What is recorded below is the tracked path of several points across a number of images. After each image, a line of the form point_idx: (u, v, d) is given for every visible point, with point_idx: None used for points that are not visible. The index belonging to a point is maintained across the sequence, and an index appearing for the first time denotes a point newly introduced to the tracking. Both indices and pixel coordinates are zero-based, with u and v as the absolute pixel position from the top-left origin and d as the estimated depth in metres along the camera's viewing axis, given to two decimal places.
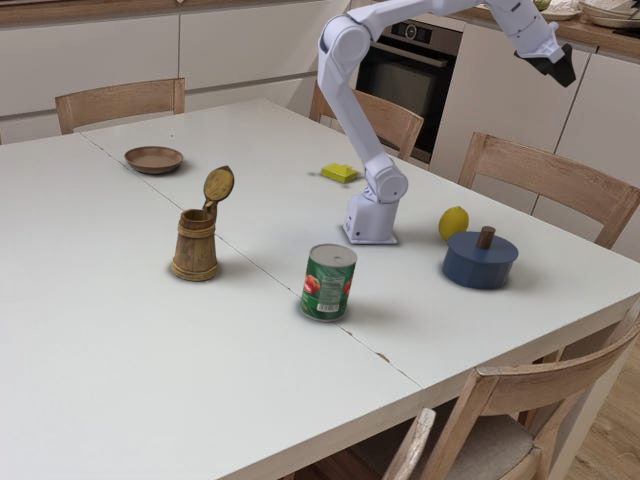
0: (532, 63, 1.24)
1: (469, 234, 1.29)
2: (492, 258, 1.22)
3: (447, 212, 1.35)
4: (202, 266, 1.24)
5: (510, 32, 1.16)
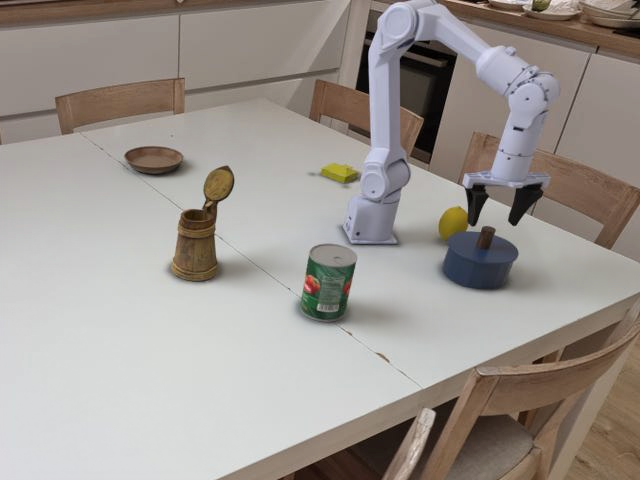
0: (514, 200, 1.22)
1: (469, 234, 1.29)
2: (492, 258, 1.22)
3: (447, 212, 1.35)
4: (202, 266, 1.24)
5: (500, 144, 1.14)
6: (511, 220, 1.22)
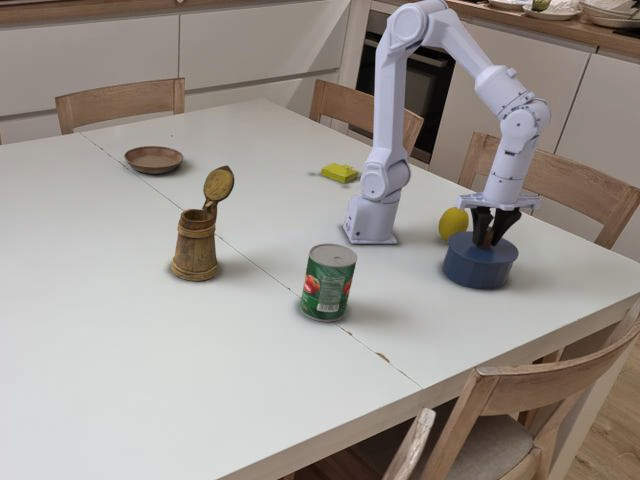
0: (494, 221, 1.24)
1: (469, 234, 1.29)
2: (492, 258, 1.22)
3: (447, 212, 1.35)
4: (202, 266, 1.24)
5: (492, 167, 1.17)
6: None
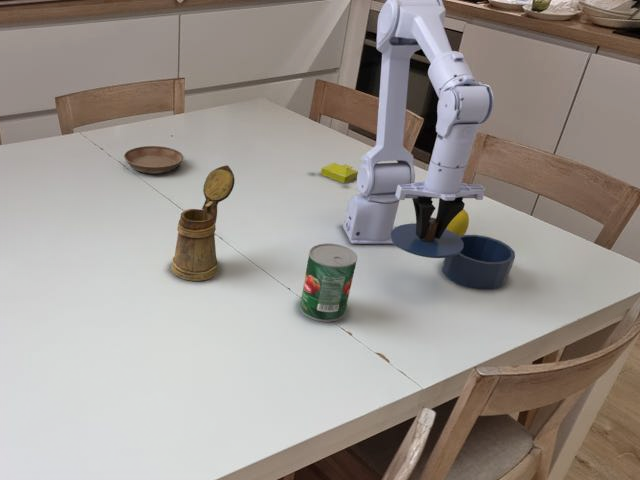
0: (437, 212, 1.18)
1: (414, 226, 1.24)
2: (435, 251, 1.16)
3: None
4: (202, 266, 1.24)
5: None
6: None
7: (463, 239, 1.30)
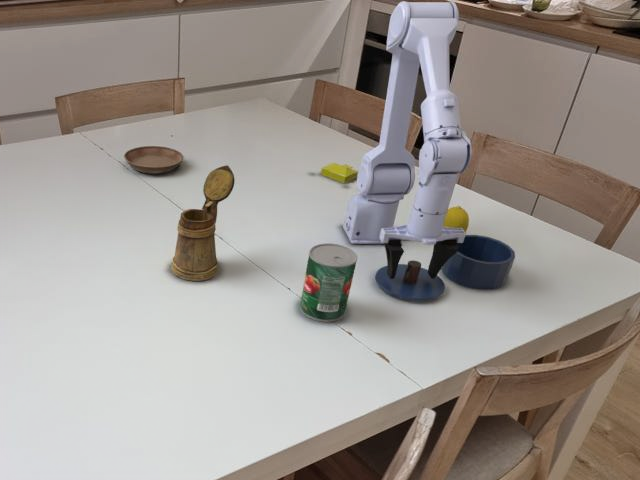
0: None
1: (398, 267, 1.28)
2: (417, 293, 1.21)
3: (447, 212, 1.35)
4: (202, 266, 1.24)
5: None
6: (430, 272, 1.24)
7: None
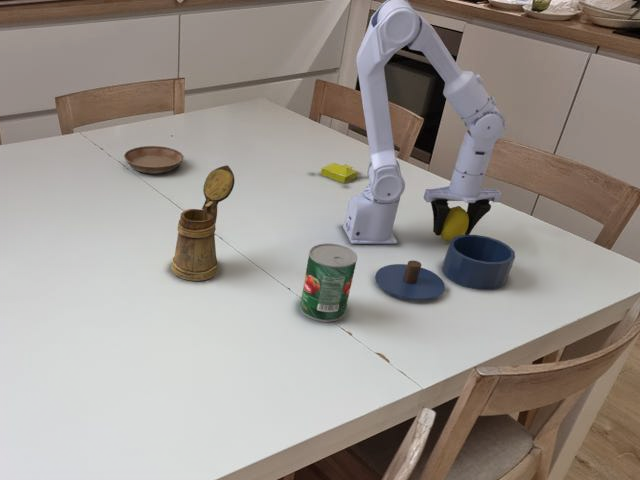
0: None
1: (398, 267, 1.28)
2: (417, 293, 1.21)
3: None
4: (202, 266, 1.24)
5: (459, 168, 1.28)
6: None
7: (463, 239, 1.30)
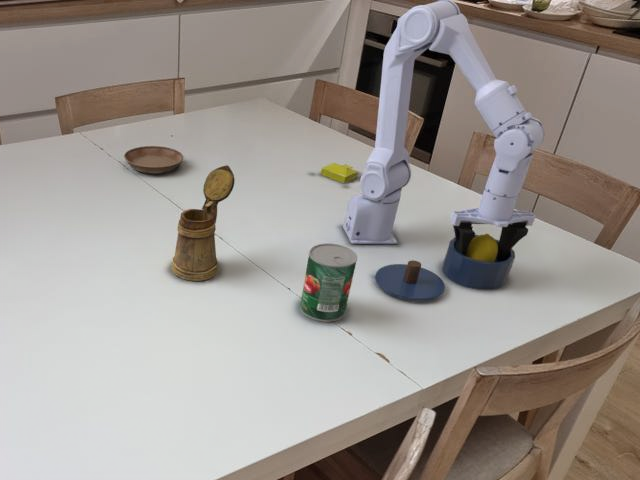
0: (500, 237, 1.26)
1: (398, 267, 1.28)
2: (417, 293, 1.21)
3: (474, 240, 1.25)
4: (202, 266, 1.24)
5: (486, 185, 1.19)
6: (497, 255, 1.27)
7: None
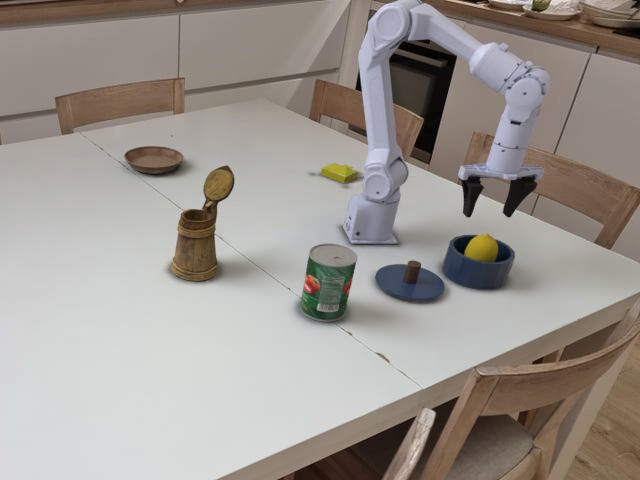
0: None
1: (398, 267, 1.28)
2: (417, 293, 1.21)
3: (474, 240, 1.25)
4: (202, 266, 1.24)
5: (495, 138, 1.17)
6: (506, 211, 1.25)
7: (463, 239, 1.30)
